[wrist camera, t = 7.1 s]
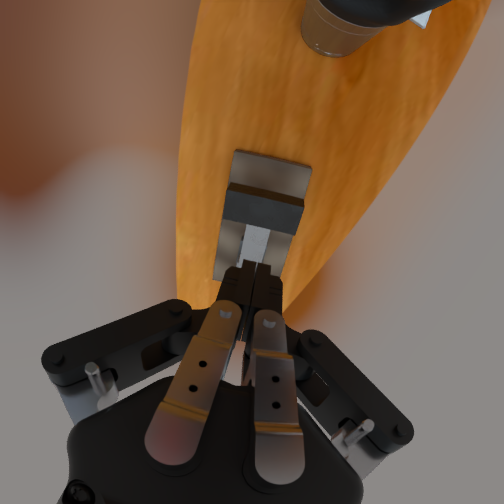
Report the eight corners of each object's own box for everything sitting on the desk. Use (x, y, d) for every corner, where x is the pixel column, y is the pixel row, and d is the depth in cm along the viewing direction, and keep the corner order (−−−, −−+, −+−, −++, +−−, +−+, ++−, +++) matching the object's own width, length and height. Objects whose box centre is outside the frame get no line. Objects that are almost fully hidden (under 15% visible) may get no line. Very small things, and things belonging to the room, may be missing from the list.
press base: (236, 149, 41) (222, 162, 31) (310, 166, 41) (320, 184, 31) (214, 273, 53) (200, 310, 43) (275, 287, 53) (272, 327, 43)
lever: (233, 176, 33) (226, 189, 30) (303, 192, 33) (304, 207, 30) (216, 290, 47) (211, 306, 44) (267, 301, 47) (264, 319, 44)
